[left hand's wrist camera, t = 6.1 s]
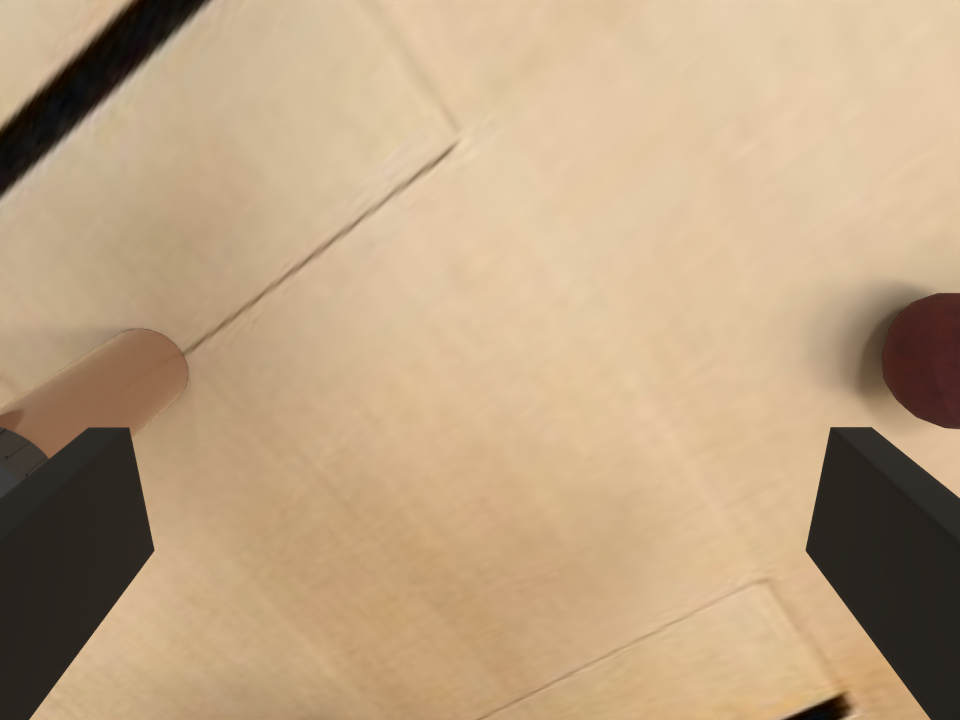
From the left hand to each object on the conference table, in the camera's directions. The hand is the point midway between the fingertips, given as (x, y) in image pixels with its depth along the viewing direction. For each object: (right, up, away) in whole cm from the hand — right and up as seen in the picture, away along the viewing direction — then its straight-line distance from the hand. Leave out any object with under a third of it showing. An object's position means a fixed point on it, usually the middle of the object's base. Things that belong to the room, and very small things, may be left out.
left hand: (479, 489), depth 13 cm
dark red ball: (+27, +4, +28) cm, 39 cm away
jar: (-21, +2, +29) cm, 36 cm away
